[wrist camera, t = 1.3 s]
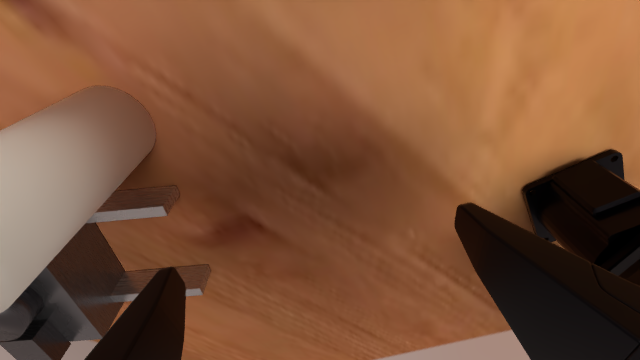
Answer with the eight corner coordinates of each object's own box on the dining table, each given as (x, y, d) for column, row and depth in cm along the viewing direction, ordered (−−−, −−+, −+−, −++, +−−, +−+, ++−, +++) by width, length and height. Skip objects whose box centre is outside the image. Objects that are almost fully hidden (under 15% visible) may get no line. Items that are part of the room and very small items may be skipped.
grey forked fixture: (171, 173, 23) (124, 240, 17) (214, 280, 29) (191, 356, 23) (-24, 192, 23) (-135, 264, 17) (59, 294, 29) (-2, 372, 23)
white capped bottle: (173, 138, 21) (36, 301, 11) (117, 173, 23) (-54, 349, 12) (108, 69, 19) (-154, 191, 8) (50, 112, 20) (-240, 266, 9)
